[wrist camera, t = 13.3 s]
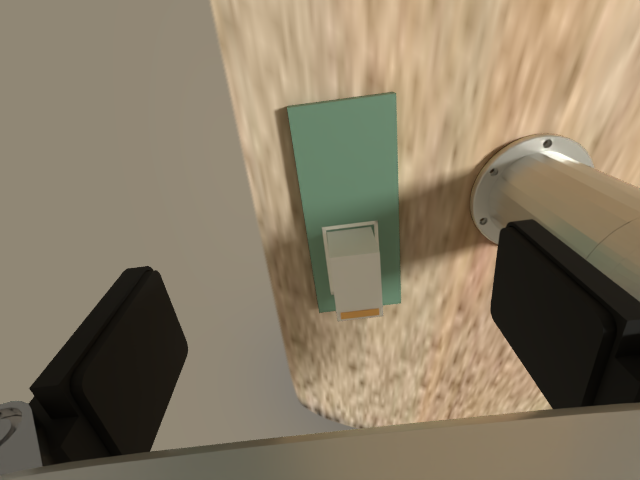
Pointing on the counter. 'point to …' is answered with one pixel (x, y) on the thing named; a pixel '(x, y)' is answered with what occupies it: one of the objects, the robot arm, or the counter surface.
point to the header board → (349, 181)
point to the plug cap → (355, 273)
